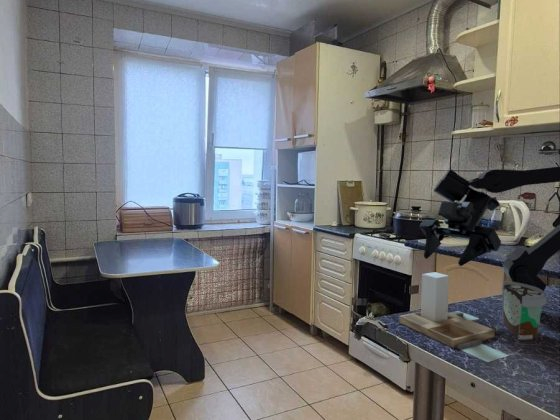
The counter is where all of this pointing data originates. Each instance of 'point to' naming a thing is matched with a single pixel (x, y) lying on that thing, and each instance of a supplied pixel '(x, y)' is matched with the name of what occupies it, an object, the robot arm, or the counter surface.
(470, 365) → the counter surface
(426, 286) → the tall white block
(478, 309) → the counter surface
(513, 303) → the food container
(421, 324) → the puzzle board
